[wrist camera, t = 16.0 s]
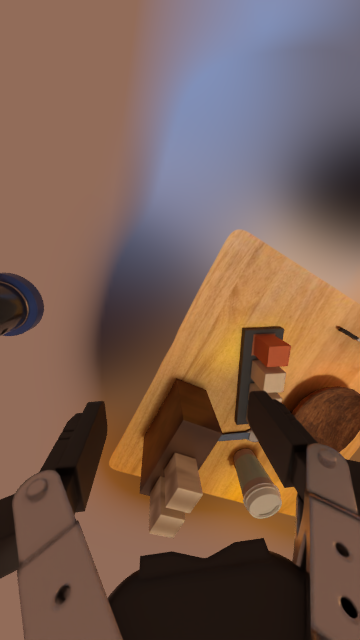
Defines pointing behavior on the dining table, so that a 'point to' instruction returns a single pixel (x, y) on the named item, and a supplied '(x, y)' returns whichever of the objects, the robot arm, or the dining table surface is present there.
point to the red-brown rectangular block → (271, 351)
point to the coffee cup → (256, 485)
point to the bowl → (331, 416)
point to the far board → (247, 368)
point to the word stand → (177, 456)
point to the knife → (349, 334)
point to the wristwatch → (239, 436)
